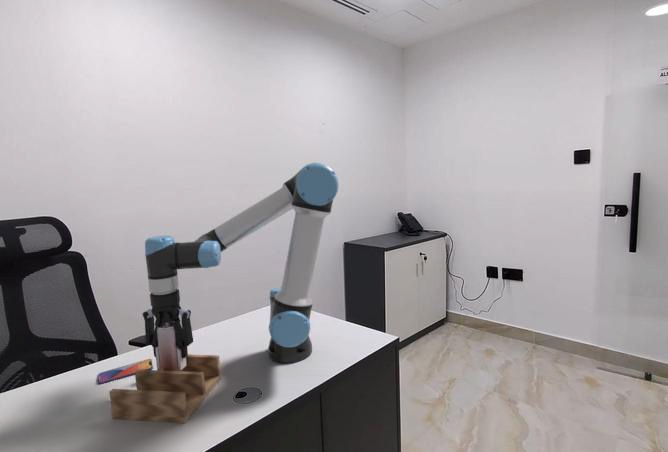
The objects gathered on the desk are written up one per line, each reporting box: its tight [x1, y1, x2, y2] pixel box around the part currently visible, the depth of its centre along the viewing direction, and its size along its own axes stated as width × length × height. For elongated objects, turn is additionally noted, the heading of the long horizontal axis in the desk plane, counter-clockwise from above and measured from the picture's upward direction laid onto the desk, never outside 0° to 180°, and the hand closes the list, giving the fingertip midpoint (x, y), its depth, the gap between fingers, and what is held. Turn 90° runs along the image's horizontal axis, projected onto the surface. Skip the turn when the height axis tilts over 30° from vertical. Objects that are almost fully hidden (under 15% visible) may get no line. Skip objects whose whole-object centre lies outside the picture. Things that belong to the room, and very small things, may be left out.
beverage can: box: [157, 321, 184, 371], centre depth 101 cm, size 6×6×15 cm
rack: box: [109, 354, 222, 424], centre depth 97 cm, size 20×20×8 cm
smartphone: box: [97, 358, 154, 386], centre depth 112 cm, size 7×15×1 cm, turn 122°
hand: (172, 367), depth 101 cm, fingers closed on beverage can, 6 cm apart
